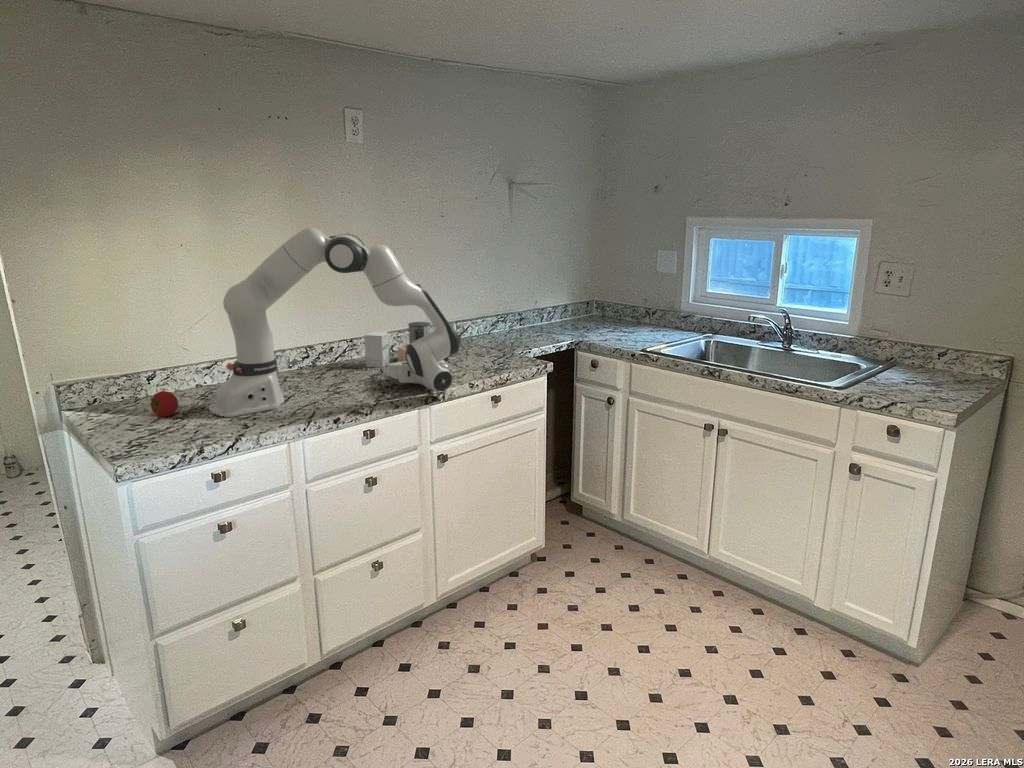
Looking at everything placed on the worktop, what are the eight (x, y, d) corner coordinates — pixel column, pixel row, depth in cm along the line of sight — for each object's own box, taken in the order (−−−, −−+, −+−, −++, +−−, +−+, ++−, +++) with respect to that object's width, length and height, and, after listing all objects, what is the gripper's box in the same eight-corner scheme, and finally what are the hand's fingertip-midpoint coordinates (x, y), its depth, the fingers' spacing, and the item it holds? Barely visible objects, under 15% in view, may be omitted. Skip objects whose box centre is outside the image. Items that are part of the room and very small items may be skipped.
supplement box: (383, 367, 253) (381, 335, 249) (365, 366, 254) (363, 335, 251) (390, 363, 260) (388, 332, 256) (373, 362, 261) (371, 331, 258)
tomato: (174, 385, 199) (149, 386, 192) (186, 403, 196) (161, 405, 190) (164, 402, 202) (139, 404, 196) (175, 421, 200) (150, 424, 193)
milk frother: (406, 358, 268) (404, 322, 264) (442, 354, 275) (441, 319, 271) (417, 365, 256) (416, 328, 252) (455, 361, 263) (454, 325, 259)
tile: (399, 388, 226) (399, 385, 226) (384, 378, 237) (384, 376, 237) (436, 382, 233) (436, 379, 233) (420, 373, 244) (420, 370, 244)
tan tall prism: (405, 380, 231) (403, 347, 228) (399, 376, 236) (397, 344, 232) (420, 378, 234) (419, 345, 231) (414, 374, 239) (412, 342, 235)
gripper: (451, 357, 227) (434, 350, 238) (395, 365, 217) (380, 356, 228) (451, 375, 229) (435, 366, 240) (396, 383, 218) (381, 374, 230)
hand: (408, 362), depth 234 cm, fingers closed on tan tall prism, 6 cm apart
